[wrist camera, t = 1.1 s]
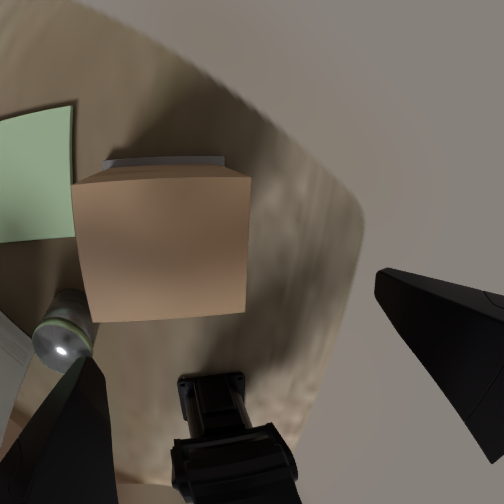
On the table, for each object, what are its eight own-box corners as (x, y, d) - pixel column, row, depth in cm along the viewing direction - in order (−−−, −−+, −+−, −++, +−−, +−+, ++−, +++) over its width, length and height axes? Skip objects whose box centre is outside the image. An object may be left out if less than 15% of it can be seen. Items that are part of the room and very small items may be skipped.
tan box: (219, 252, 21) (254, 319, 13) (112, 258, 19) (85, 331, 11) (222, 155, 19) (264, 164, 11) (105, 160, 17) (59, 173, 9)
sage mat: (77, 233, 18) (75, 236, 17) (-14, 242, 15) (-17, 244, 15) (73, 106, 15) (70, 105, 14) (-22, 129, 12) (-26, 129, 12)
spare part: (106, 335, 21) (99, 376, 17) (59, 335, 20) (44, 374, 15) (95, 286, 20) (81, 323, 15) (45, 288, 18) (23, 323, 14)
